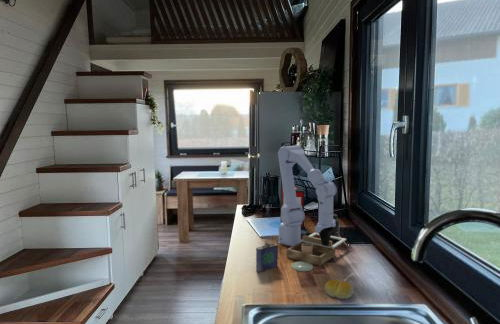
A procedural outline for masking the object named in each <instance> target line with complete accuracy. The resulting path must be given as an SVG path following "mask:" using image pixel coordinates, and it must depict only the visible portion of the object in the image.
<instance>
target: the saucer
mask: <svg viewBox="0 0 500 324" xmlns="http://www.w3.org/2000/svg"><path fill="white" fill-rule="evenodd" d="M291 268H292V269H293V270H295V271H299V272H308V271H309V272H310V271H311V270H313V269H314V264H312V263H308V262H304V261H295V262H292V264H291Z"/></svg>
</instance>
